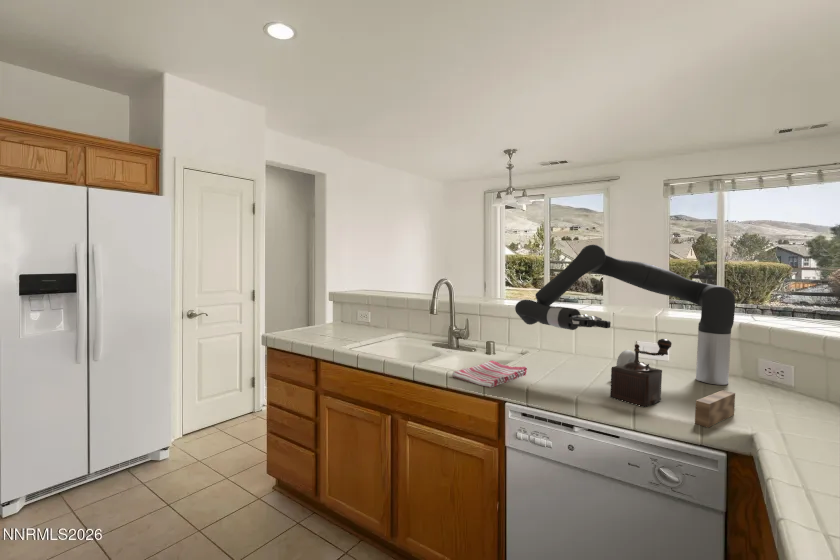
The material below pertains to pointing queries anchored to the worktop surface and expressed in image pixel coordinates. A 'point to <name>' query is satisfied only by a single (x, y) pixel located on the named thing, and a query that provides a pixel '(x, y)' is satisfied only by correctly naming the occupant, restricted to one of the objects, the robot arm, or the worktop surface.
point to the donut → (626, 357)
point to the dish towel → (490, 374)
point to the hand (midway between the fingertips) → (609, 324)
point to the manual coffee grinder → (638, 379)
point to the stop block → (714, 408)
